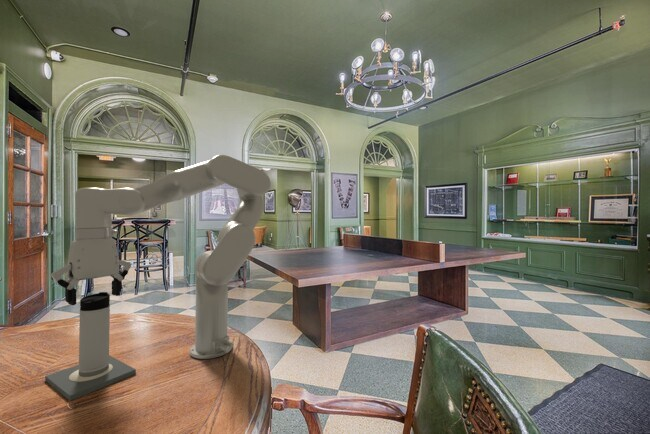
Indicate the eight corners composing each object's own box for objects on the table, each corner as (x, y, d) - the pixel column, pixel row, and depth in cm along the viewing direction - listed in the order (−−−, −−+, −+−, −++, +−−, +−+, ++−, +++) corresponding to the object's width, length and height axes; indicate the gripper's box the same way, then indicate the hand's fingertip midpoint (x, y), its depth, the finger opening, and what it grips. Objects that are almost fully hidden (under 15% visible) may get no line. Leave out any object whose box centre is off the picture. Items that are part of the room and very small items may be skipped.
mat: (135, 373, 78) (135, 368, 78) (69, 401, 67) (69, 394, 67) (108, 358, 87) (108, 354, 87) (45, 380, 75) (45, 375, 75)
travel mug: (115, 364, 81) (116, 291, 81) (97, 377, 74) (98, 298, 74) (92, 364, 80) (93, 291, 81) (72, 377, 74) (73, 298, 74)
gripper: (123, 232, 87) (124, 290, 87) (45, 236, 72) (46, 306, 72) (136, 233, 83) (137, 293, 83) (56, 237, 68) (57, 310, 68)
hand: (95, 299), depth 77 cm, fingers open, 9 cm apart
